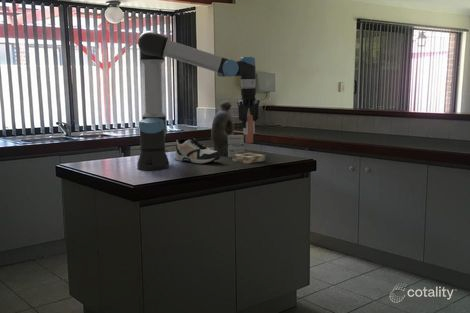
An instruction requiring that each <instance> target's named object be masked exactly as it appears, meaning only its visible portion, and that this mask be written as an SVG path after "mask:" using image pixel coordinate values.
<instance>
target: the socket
mask: <svg viewBox="0 0 470 313" xmlns="http://www.w3.org/2000/svg"><path fill="white" fill-rule="evenodd" d="M231 158H232V161H233V162H237V163H244V164H252V163H253V164H255V163H259V162H265V161H266V154H261V153H254V152H244V153H243V154H235V155H232V157H231Z"/></svg>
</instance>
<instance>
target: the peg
mask: <svg viewBox="0 0 470 313" xmlns="http://www.w3.org/2000/svg"><path fill="white" fill-rule="evenodd" d="M246 122H248V134H247V135H246V134H244V138H245V139H244V144H245V143H246V144H251V143H252V144H253V143H254V134H253V115H250V114H247V120H246Z"/></svg>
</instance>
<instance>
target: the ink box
mask: <svg viewBox="0 0 470 313" xmlns="http://www.w3.org/2000/svg"><path fill="white" fill-rule="evenodd" d="M244 138H245V134H233V135H229V136H228V155H227V158H232V155H235V154H243V153H245V139H244Z"/></svg>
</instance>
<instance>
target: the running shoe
mask: <svg viewBox="0 0 470 313" xmlns="http://www.w3.org/2000/svg"><path fill="white" fill-rule="evenodd" d="M173 159H174V161H177V162H186V161H189V163H194V164H198V165H199V164H201V165H202V164H208V163H211V162H215V161H218V160H220V159H221V155H220V152H219V151H213V149H211V148H209V147H208V146H205V145H204V144H203V143H201V142H199V141H198V140H197V139H195V138H194V137H192V138H189V139H187V140H186V139H185V138H184V137H183V138H180V139H178V138H177V139H176V142H175V153H174V156H173Z"/></svg>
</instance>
